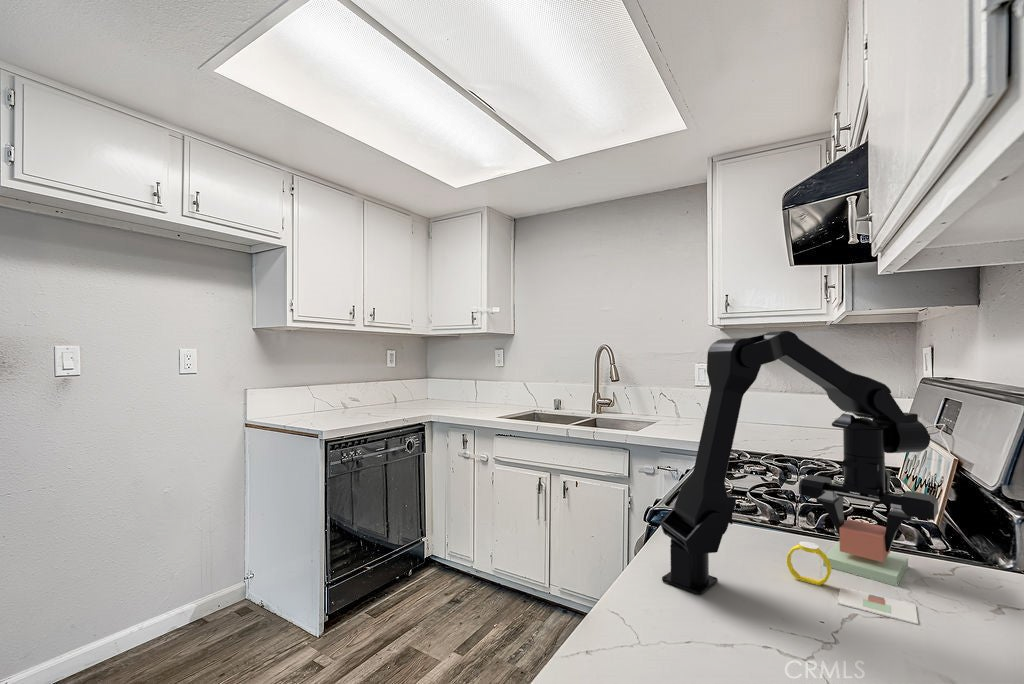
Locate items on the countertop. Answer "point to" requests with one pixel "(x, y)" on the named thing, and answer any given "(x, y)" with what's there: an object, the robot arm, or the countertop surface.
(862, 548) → the brick
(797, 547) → the watch
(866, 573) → the baseplate
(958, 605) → the countertop surface
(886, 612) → the page
